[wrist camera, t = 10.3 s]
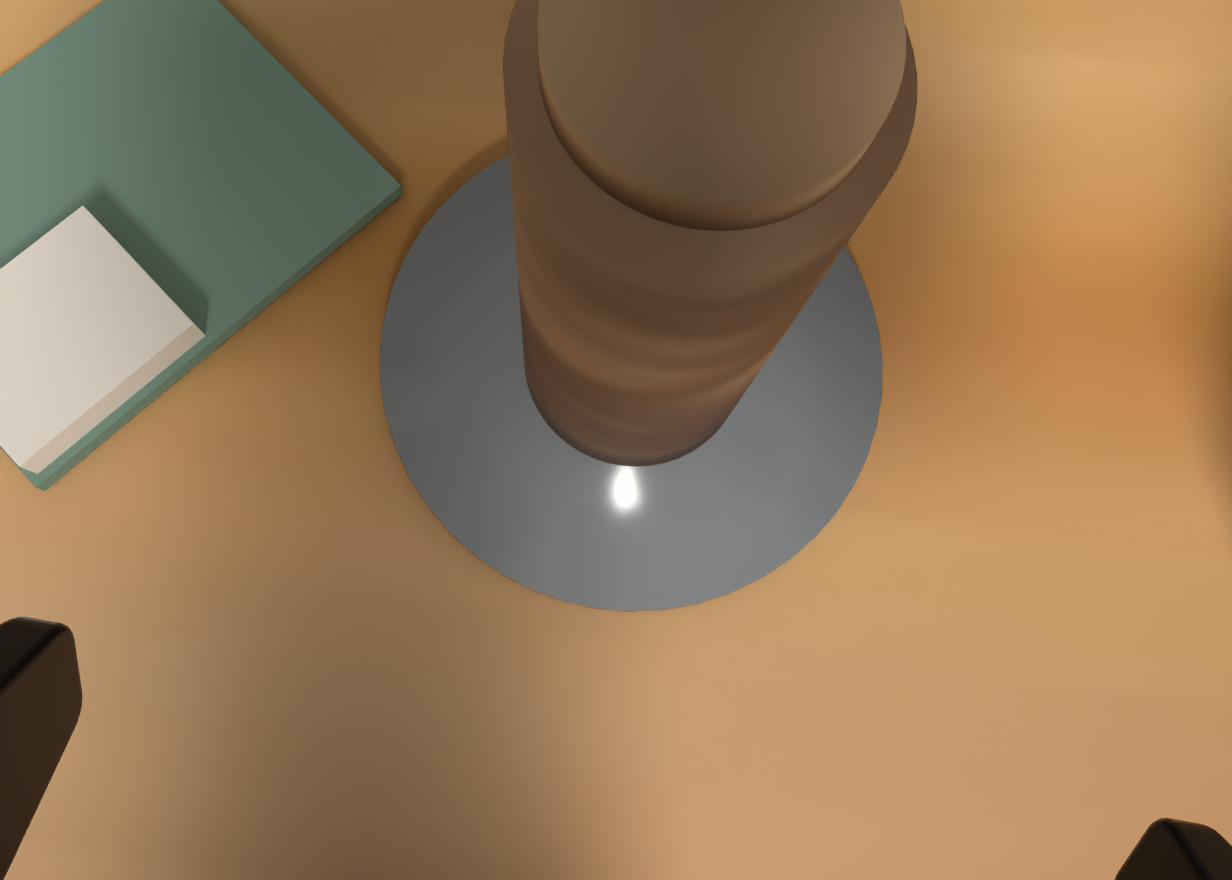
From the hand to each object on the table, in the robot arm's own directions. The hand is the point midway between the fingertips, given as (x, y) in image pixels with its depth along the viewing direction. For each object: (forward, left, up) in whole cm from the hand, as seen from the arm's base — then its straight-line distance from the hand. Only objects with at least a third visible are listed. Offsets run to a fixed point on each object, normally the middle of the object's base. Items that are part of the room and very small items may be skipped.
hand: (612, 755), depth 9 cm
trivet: (+6, +4, -14) cm, 16 cm away
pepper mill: (+6, +4, -13) cm, 15 cm away
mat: (0, +15, -14) cm, 20 cm away
